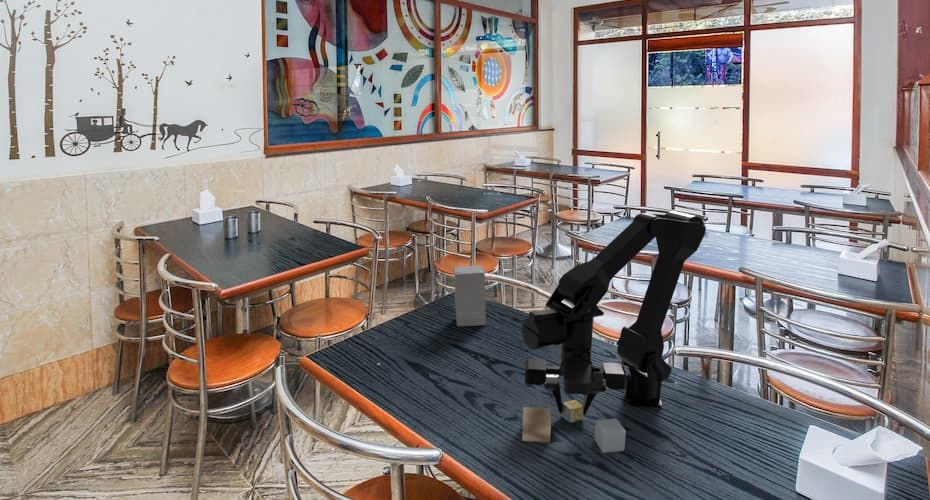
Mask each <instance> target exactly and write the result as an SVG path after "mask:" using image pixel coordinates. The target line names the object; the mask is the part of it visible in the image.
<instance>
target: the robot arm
mask: <svg viewBox="0 0 930 500" xmlns="http://www.w3.org/2000/svg"><path fill="white" fill-rule="evenodd" d="M706 227H707V226H706V225H705V223H704V220H703V218H702V217H700V216H697V215H693V214H691V213H690V214H689V213H684V212H680V211H677V210H670V211H667V212H666V213H665V214H663V213H661V214H660V213H646V212H641V213H638V214H636V215H635V217H634V218H633V220H632V222H631V223H630V224H628V226H627V227H625V228H624V229H623V230H622V231H621V232H620V233H619V234H618V235H617V236H616V237H614V239H612V240H611V242H610V243H608V244H607V245H606V246H605V247H603V249H602V250H601V251H600V252H599V253H598V254H596V255H595V256H594V257H593V258H591V259H590V260H589V261H586V262H583V263H580V264H577V265H575V266H573V267H572V268H571V269H570V270H568V271H567V272H565V273H564V274H562V276H561V277H560V278H559V280H558V285H557V286H556V288H555V289H554V290H553V292H552V293H551V294H550V296H549V297H548V300H547V302H546V303H545V306H546V307H547V308H548V309H544V310H543V309H542V310H532V311H529V312H528V318H525V319H524V321H523V324H522V325H521V333H522V338H523V341H524V344H525V345H526V347H527V348H528V350H531V351H536V350H539V349H544V348H549V347H555V346H560V354H559V366H554V365H553V366H552V365H551V366H550V365H547V359H543V358H530V357H529V358H527V359H526V361H525V367H524V368H525V370H524V383H525V384H526V385H531V386H542V385H543V386H544V388H545V389H548V390H550V391H551V392H552V393H551V394H553V397H554V399H555V403H556V406H557V409H558V412H559V414H560V415H561V414H562V403H563V401H562V394H561V393H562V392H561V391H562V390H561V382H560V378H562V379H563V381H562V382H563V384H562V385H563V392H564V393H565V394H566V395H567V394H568V395H575V394H576V395H583V402H582V405H583V406H584V411H583V416H586V414H587V412H588V410H589V408H590V407H591V404H592V402H593V400H594V399H595V398H596V396H597V395H598V394H599V393H605V392H606V391H607V389H609V390H616V391H617V390H618V391H619V390H621V391H623V394H624V397H625V398H626V399H627V402H628V404H629V405H630V406H638V407H639V406H641V407H656V408H657V407H658V408H661V407H663V403H662V400H661V392H662V385H663V384H662V382H664V380H666V379H668V378H669V377H670V375H671V372H672V370H673V369H672V367H671V366H670V365H669V364H668V363H667V362H666V361H665V360H664V358H663V355H664V348H665V343H664V337H663V333H662V329H663V325H664V323H665V319H666V317H667V315H668V314H667V313H668V311H669V307H670V305H671V302H672V300H673V296H674V293H675V290H676V287H677V285H678V281H679V279H680V275H681V274H682V271H683V267H684V264H685V262H686V261H687V260H688V259H689V258H690V257H691V256H693V255H694V254H695V253H696V252H697V251H698V249H699V247H700V245H701V243H702V241H703V239H704V238H705V236H706V235H705V234H706V230H707V228H706ZM654 239H655V240H656V241H655V242H656V246H657V251H658V254H657V259H656V261H655V263H654V264H655V265H654V268H653V270H652V273H651V275H650V278H649V282H648V286H647V288H646V291H645V294H644V297H643V301H642V304H641V306H640V308H639V312H638V314H637V318H636V320H635V322H634V323H632V324H631V325H630V326H628V327H626V326H623V327H622V328H621V331H620V336H619V338H618V340H617V342H616V343H615V344H616V346H617V349H616V353H617V355H618V356H619V358H620V360H621V363H620V362H605V361H604V362H602V363H601V364H602V365H601V366H600V367H599V366H595V364H593V361H592V350H593V349H592V346H593V334H594V332H593V330H594V319H595V318H597V317H602V316H604V315H605V312H604V311H602V309H600V308H599V306H598V305H599V303H600V302H601V300H602V299H603V298H604V296H605V295H606V294H607V293H608V291H609V287H610V283H611V281H612V280H613V278H614V277H616V275H617V274H618V273H619V272H620V271H621V270H622V269H624V267H625V266H626V265H628V264H629V262H631V261H632V260H633V259H634V258H635V257H636V256H637V255H638V254H639V253H640V252H641V251H642V250H643V249H645V248H646V246H647V245H649V243H651V242H652V241H653V240H654ZM563 301H566V302H567V303H569V304H571V305H573V307H571V306H568V305H567V304H565V303H563ZM624 366H625V367H627V372H626V369H625V367H624Z"/></svg>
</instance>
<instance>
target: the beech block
mask: <svg viewBox="0 0 930 500" xmlns="http://www.w3.org/2000/svg"><path fill="white" fill-rule="evenodd" d="M551 427H552V419H551V408H545V407H544V408H543V407H526V406H525V407H524V406H523V407H522V435H521V436H522V437H521V438H522V440H521V441H525V442H538V443H551V433H552V432H551V431H552V430H551V429H552V428H551Z"/></svg>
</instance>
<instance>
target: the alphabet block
mask: <svg viewBox="0 0 930 500" xmlns="http://www.w3.org/2000/svg"><path fill="white" fill-rule="evenodd" d="M583 411H584V406H583V404H582V403H580V402H579V401H577V400H576V399H572V400H568V401H564V402H562V414H561V413H560V415H561V417H562V418H563V419H564V420H566V421H567V422H568V423H570V424H571V423H575V422H578V421H583V420H584V415H583Z"/></svg>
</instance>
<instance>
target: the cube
mask: <svg viewBox="0 0 930 500" xmlns="http://www.w3.org/2000/svg"><path fill="white" fill-rule="evenodd" d="M594 423H595V424H594V437H593V439H594V441H595V443H596V444H597V446H598V447H599V450H600V451H601V452H602V454H604V453H611V452H612V453H613V452H614V453H615V452H624V451H625V446H626V434H627V431H626V429H625V428H624V426H622V424H621V423H620V421H619V420H618V418H607V419H596V420H595V422H594Z"/></svg>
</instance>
